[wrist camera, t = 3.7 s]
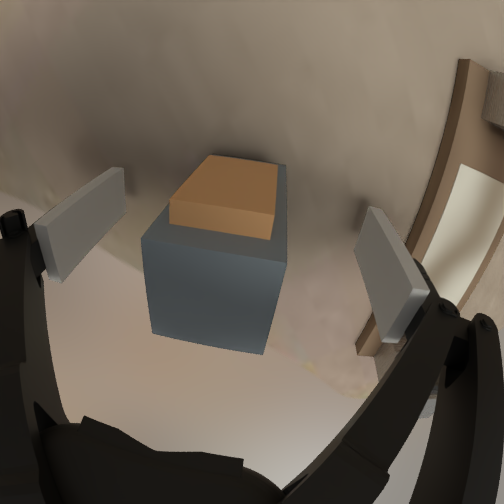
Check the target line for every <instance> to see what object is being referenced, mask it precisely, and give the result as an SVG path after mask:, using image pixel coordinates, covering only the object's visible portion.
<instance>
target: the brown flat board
mask: <svg viewBox="0 0 504 504" xmlns="http://www.w3.org/2000/svg"><path fill="white" fill-rule="evenodd" d="M488 77H489V71H488V70H487V69H485V68H484V67H482V66H480V65H479V64H477V63H476V62H474V61H472V60H471V59H459V62H458V69H457V75H456V81H455V86H454V92H453V97H452V101H451V106H450V111H449V115H448V119H447V123H446V127H445V131H444V135H443V139H442V142H441V146H440V149H439V153H438V156H437V160H436V163H435V166H434V169H433V173H432V176H431V179H430V182H429V185H428V188H427V190H426V193H425V196H424V199H423V202H422V204H421V207H420V210H419V212H418V215H417V218H416V220H415V223H414V225H413V228H412V230H411V233H410V235H409V238H408V240H407V242H406V245H405V247H406V248H407V250H408V252H409V253H410V255H411V257H412V258H415V259H416V260H417V261H418V262H419V263H420V264H421V265H422V266H423V267H424V269H425V270H426V272H427V275H428V276H429V277H430V279H431V280H430V281H432V283H433V285H434V286H435V288H436V290H437V292H438V294H439V296H440V297H442V298H445V299H447V300H449V301H451V302H452V303H453V304H454V305H455V306H456V307H457V308H458V310H459V312H460V311H461V309H462V308H463V306H464V305H465V303H466V302H467V300H468V298H469V297H470V295H471V294H472V292H473V290H474V289H475V287H476V285H477V283H478V282H479V280H480V278H481V277H482V275H483V273H484V271H485V269H486V268H487V266H488V264H489V262H490V260H491V258H492V256H493V254H494V252H495V250H496V248H497V246H498V244H499V242H500V240H501V238H502V236H503V234H504V139H503V137H504V132H503V131H502V130H500V129H498V128H497V127H495V126H494V125H492V124H490V123H488V122H487V121H485V120H483V119H482V118H481V115H482V110H483V105H484V100H485V95H486V90H487V84H488ZM404 334H405V333H404ZM382 343H383V342H381V339H380V335H379V331H378V327H377V324H376V320H375V316H374V313H372V315H371V317H370V319H369V321H368V323H367V324H366V326H365V328H364V330H363V332H362V333H361V335H360V337H359V339H358V340H357V342H356V344H355V345H356V351H357V355H358V356H373V357H374V355H375V354H376V352H377V351H378V349H379V348H380V346H381V345H382Z"/></svg>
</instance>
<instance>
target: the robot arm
mask: <svg viewBox="0 0 504 504" xmlns="http://www.w3.org/2000/svg"><path fill="white" fill-rule="evenodd" d="M125 213H126V202H125V184H124V168H121V167H111V168H110V169H108V170H107V171H105V172H104V173H102V174H100V175H99V176H97V177H96V178H94V179H93V180H91V181H90V182H88V183H87V184H86V185H84V186H83V187H81V188H80V189H78V190H77V191H76V192H74V193H73V194H71V195H70V196H69V197H67V198H66V199H65V200H63V201H62V202H60V203H59V204H58V205H57V206H55V207H53V208H52V209H51V210H49V211H48V212H47V213H46V214H44V215H43V216H42V217H41V218H39V219H38V220H37V221H36V222H35V223H33V224H32V225H31V226H30V227H29V228H28V227H27V223H26V218H25V214H24V211H23V210H22V209H15V210H11V211H8V212H6V213H5V214H3V215H2V216H1V217H0V231H1V234H2V239H0V504H373V502H374V501H375V500H376V498H377V497H378V496H379V494H380V493H381V492H382V490H383V489H384V487H385V486H386V484H387V482H388V480H389V477H390V475H389V474H388V469H389V467H390V465H391V464H392V462H393V461H394V459H395V458H396V456H397V455H398V453H399V451H400V450H401V448H402V446H403V445H404V443H405V441H406V440H407V438H408V436H409V435H410V433H411V431H412V429H413V427H414V426H415V424H416V422H417V420H418V418H419V416H420V414H421V412H422V410H423V408H424V406H425V404H426V402H427V400H428V398H429V396H430V394H431V392H432V390H433V388H434V385H435V383H436V381H437V379H438V376H439V374H440V378H439V386H438V393H437V399H436V405H435V411H434V416H433V421H432V426H431V431H430V435H429V439H428V443H427V448H426V451H425V455H424V459H423V462H422V466H421V469H420V473H419V476H418V479H417V482H416V485H415V488H414V491H413V494H412V497H411V499H410V502H409V504H495V502H496V497H497V491H498V486H499V480H500V473H501V464H502V455H503V443H504V380H503V367H502V358H501V349H500V342H499V336H498V329H497V327H496V325H495V323H494V321H493V320H492V319H491V318H490V317H489V316H487V315H485V314H482V313H477V314H476V315H475V316H474V318H473V319H472V321H469V320H466V319H464V318H461V317H460V313H459V310H458V308H457V307H456V306H455V305H454V304H453V303H452V302H451V301H449V300H447V299H445V298H442V297H440V296H439V294H438V292H437V290H436V288H435V286H434V285H433V283H432V281H430V280H431V279H430V277H429V276H428V275H427V272H426V270H425V269H424V267H423V266H422V265H421V264H420V263H419V262H418V261H417V260H416V259H415V258H412V257H411V255H410V253H409V252H408V250H407V248H406V247H405V245H404V243H403V242H402V240H401V238H400V237H399V235H398V233H397V232H396V230H395V229H394V227H393V225H392V224H391V222H390V221H389V219H388V218H387V216H386V215H385V213H384V211H383V210H382V209H381V208H376V207H372V206H369V207H368V210H367V213H366V216H365V219H364V222H363V225H362V228H361V231H360V234H359V236H358V239H357V242H356V245H355V248H354V252H355V255H356V258H357V261H358V264H359V267H360V270H361V273H362V277H363V280H364V283H365V286H366V289H367V293H368V296H369V299H370V303H371V306H372V309H373V313H374V316H375V320H376V324H377V327H378V331H379V335H380V339H381V342H387V343H398V342H399V340H400V339H401V337H402V336H403V334H404V333H405V335H406V338H407V341H406V343H405V344H404V346H403V347H402V348H401V350H400V351H399V353H398V354H397V355H396V357H395V360H394V361H393V363H392V364H391V366H390V367H389V369H388V370H387V371H386V373H385V374H384V376H383V377H382V379H381V380H380V381H379V383H378V384H377V386H376V387H375V388H374V390H373V391H372V392H371V394H370V395H369V396H368V398H367V399H366V401H365V402H364V403H363V404H362V406H361V407H360V408H359V409H358V411H357V412H356V413H355V415H354V416H353V417H352V418H351V419H350V421H349V422H348V423H347V424H346V425H345V427H344V428H343V429H342V430H341V431H340V432H339V434H338V435H337V436H336V437H335V438H334V439H333V440H332V441H331V443H330V444H329V445H328V446H327V447H326V448H325V449H324V450H323V451H322V452H321V453H320V454H319V455H318V456H317V458H316V459H315V460H314V461H313V462H312V463H311V464H310V465H309V466H308V467H307V468H306V469H304V470H303V471H302V472H301V473H300V474H299V475H298V476H297V477H296V478H295V479H293V480H292V481H291V482H290V483H289V484H288V485H286V486H285V487H284V488H283V489H282V490H280V489H279V488H278V487H277V486H276V485H275V484H274V483H273V482H271V481H270V480H269V479H267V478H266V477H264V476H262V475H261V474H259V473H257V472H255V471H253V470H251V469H248V468H245V467H243V461H244V459H241V458H234V457H228V456H222V455H216V454H210V453H205V452H163V451H155V450H153V449H151V448H149V447H147V446H145V445H144V444H142V443H140V442H139V441H137V440H135V439H134V438H132V437H130V436H129V435H127V434H126V433H124V432H122V431H121V430H119V429H117V428H115V427H111V426H109V425H107V424H104V423H101V422H98V421H96V420H94V419H91V418H89V417H87V416H84V417H83V419H82V422H81V423H70V422H69V420H68V419H67V417H66V415H65V413H64V410H63V407H62V403H61V400H60V395H59V391H58V387H57V382H56V378H55V373H54V368H53V363H52V357H51V351H50V344H49V337H48V330H47V321H46V311H45V299H44V281H43V278H42V275H41V273H42V272H43V271H44V270H45V269H46V270H47V273H48V277H49V279H50V280H52V281H55V282H59V283H63V282H64V280H65V279H66V278H67V277H68V275H69V274H70V273H71V272H72V271H73V270H74V268H75V267H76V266H77V265H78V264H79V263H80V262H81V260H82V259H83V258H84V257H85V256H86V255H87V254H88V252H89V251H90V250H91V249H92V248H93V247H94V246H95V245H96V244H97V243H98V241H99V240H100V239H101V238H102V237H103V236H104V235H105V234H106V233H107V232H108V231H109V230H110V229H111V228H112V227H113V226H114V225H115V224H116V223H117V222H118V220H119V219H120V218H121V217H122V216H123V215H124V214H125Z"/></svg>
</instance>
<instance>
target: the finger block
mask: <svg viewBox="0 0 504 504" xmlns="http://www.w3.org/2000/svg"><path fill="white" fill-rule="evenodd" d="M141 247H142V258H143V268H144V277H145V285H146V293H147V300H148V307H149V314H150V321H151V327H152V333H153V334H157V335H161V336H165V337H170V338H174V339H179V340H183V341H188V342H193V343H197V344H202V345H207V346H213V347H218V348H223V349H229V350H235V351H241V352H247V353H253V354H260V355H263V353H264V349H265V346H266V342H267V338H268V335H269V331H270V327H271V324H272V320H273V316H274V312H275V309H276V305H277V301H278V297H279V293H280V289H281V285H282V282H283V278H284V274H285V270H286V266H287V194H286V165H281V164H275V163H269V162H263V161H257V160H250V159H244V158H237V157H229V156H222V155H214V154H212V155H209V156H208V157H207V158H206V159H205V160H204V161H203V162H202V163H201V164H200V165H199V167H198V168H197V169H196V170H195V171H194V172H193V173H192V174H191V175H190V176H189V178H188V179H187V180H186V181H185V182H184V183H183V184H182V185H181V186H180V188H179V189H178V190H177V191H176V192H175V193H174V194H173V196H172V197H171V198H170V199H169V204H168V205H167V206H166V207H165V209H164V210H163V211H162V212H161V213H160V215H159V216H158V217H157V218H156V220H155V221H154V222H153V223H152V225H151V226H150V227H149V228H148V230H147V231H146V232H145V233H144V235H143V236H142V237H141Z"/></svg>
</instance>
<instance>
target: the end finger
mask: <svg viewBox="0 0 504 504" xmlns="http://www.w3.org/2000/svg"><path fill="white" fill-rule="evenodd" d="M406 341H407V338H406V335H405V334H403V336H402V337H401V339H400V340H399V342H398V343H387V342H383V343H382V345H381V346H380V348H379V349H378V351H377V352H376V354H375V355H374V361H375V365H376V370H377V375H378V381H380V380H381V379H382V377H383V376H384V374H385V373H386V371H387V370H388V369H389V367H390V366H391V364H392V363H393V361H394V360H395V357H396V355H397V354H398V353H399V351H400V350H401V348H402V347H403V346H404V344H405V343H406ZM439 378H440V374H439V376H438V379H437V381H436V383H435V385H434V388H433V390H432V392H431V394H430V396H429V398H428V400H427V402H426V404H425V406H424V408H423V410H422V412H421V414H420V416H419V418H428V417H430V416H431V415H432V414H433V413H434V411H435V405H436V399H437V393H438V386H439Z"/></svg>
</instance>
